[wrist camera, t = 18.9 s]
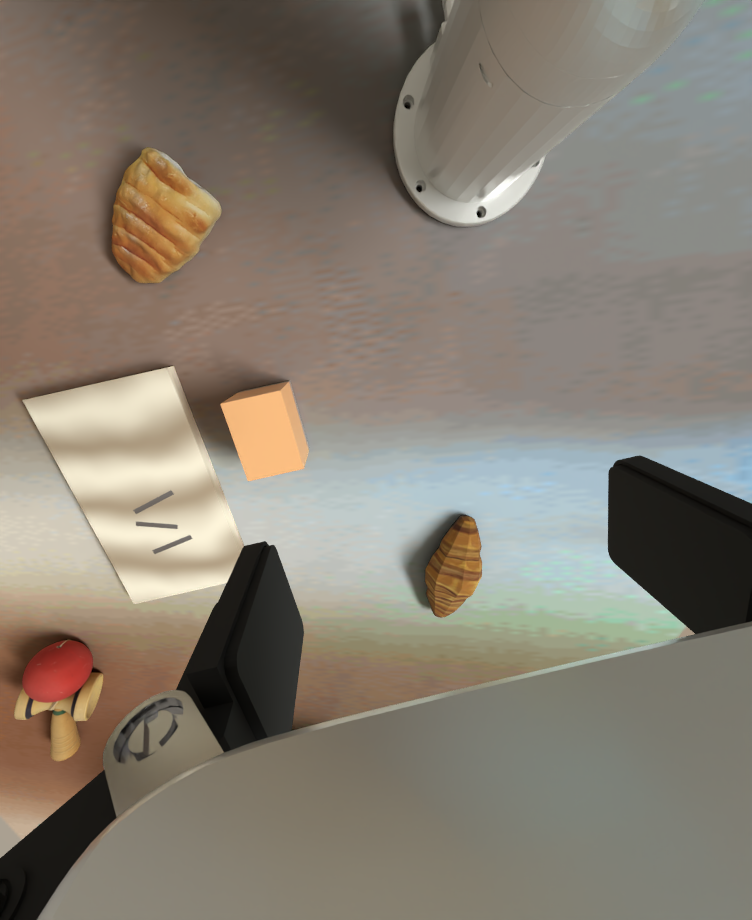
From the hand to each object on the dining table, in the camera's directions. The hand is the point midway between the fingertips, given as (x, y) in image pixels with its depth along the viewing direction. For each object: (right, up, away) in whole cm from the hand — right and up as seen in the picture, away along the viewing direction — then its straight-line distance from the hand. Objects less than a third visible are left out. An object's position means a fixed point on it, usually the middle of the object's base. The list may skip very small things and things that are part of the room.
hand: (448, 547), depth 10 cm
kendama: (-39, -25, +36) cm, 59 cm away
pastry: (-19, +22, +21) cm, 36 cm away
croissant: (+7, -10, +35) cm, 37 cm away
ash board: (-25, -1, +28) cm, 38 cm away
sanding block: (-12, +6, +27) cm, 30 cm away
